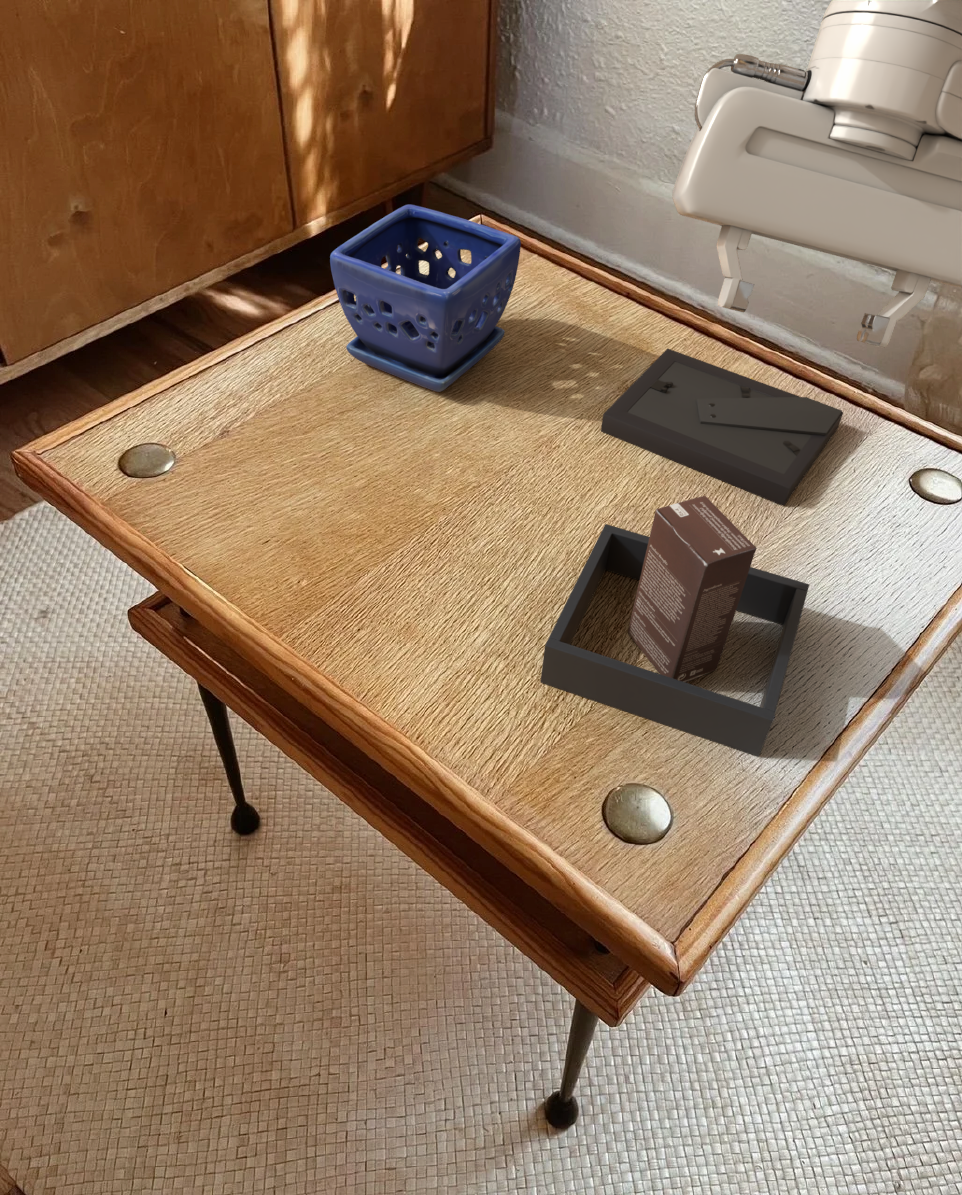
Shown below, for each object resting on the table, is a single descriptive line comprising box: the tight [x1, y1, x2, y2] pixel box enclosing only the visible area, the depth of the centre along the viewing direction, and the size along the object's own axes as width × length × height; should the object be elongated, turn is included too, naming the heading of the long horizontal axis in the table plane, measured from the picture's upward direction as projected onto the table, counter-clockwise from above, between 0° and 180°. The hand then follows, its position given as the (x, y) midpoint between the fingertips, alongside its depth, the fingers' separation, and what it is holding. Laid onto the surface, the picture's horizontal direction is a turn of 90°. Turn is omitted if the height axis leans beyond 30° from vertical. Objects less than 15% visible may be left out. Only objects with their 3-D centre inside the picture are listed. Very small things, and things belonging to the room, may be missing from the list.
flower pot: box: [329, 204, 522, 393], centre depth 96 cm, size 13×13×12 cm
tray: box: [539, 523, 810, 757], centre depth 73 cm, size 16×14×4 cm
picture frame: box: [600, 348, 844, 507], centre depth 93 cm, size 13×2×18 cm
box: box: [627, 495, 757, 683], centre depth 71 cm, size 6×4×12 cm
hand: (801, 327), depth 65 cm, fingers open, 8 cm apart
